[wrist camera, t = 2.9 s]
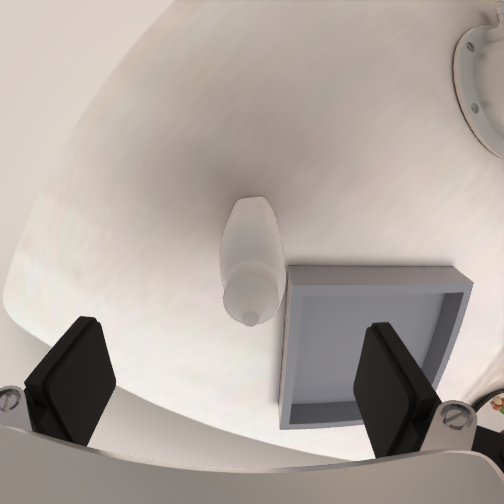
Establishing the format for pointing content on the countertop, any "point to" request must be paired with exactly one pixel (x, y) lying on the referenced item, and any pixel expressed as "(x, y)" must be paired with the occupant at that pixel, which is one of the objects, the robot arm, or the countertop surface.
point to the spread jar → (491, 412)
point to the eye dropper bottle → (252, 262)
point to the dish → (360, 332)
